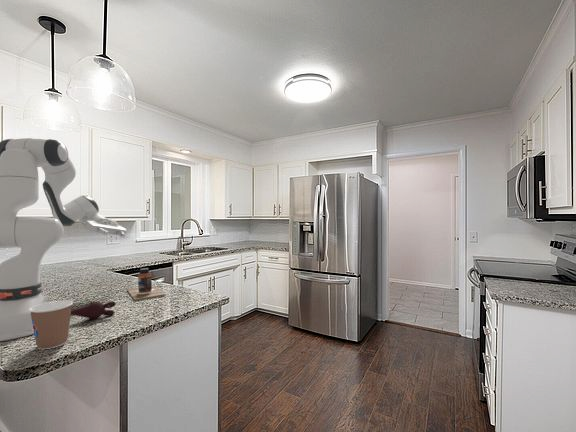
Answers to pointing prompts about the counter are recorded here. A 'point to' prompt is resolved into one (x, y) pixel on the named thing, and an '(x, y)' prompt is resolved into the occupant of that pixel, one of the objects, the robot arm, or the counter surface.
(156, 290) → the board
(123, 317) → the counter surface
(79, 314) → the dark red toy figure
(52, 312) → the coffee cup
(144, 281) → the supplement bottle
